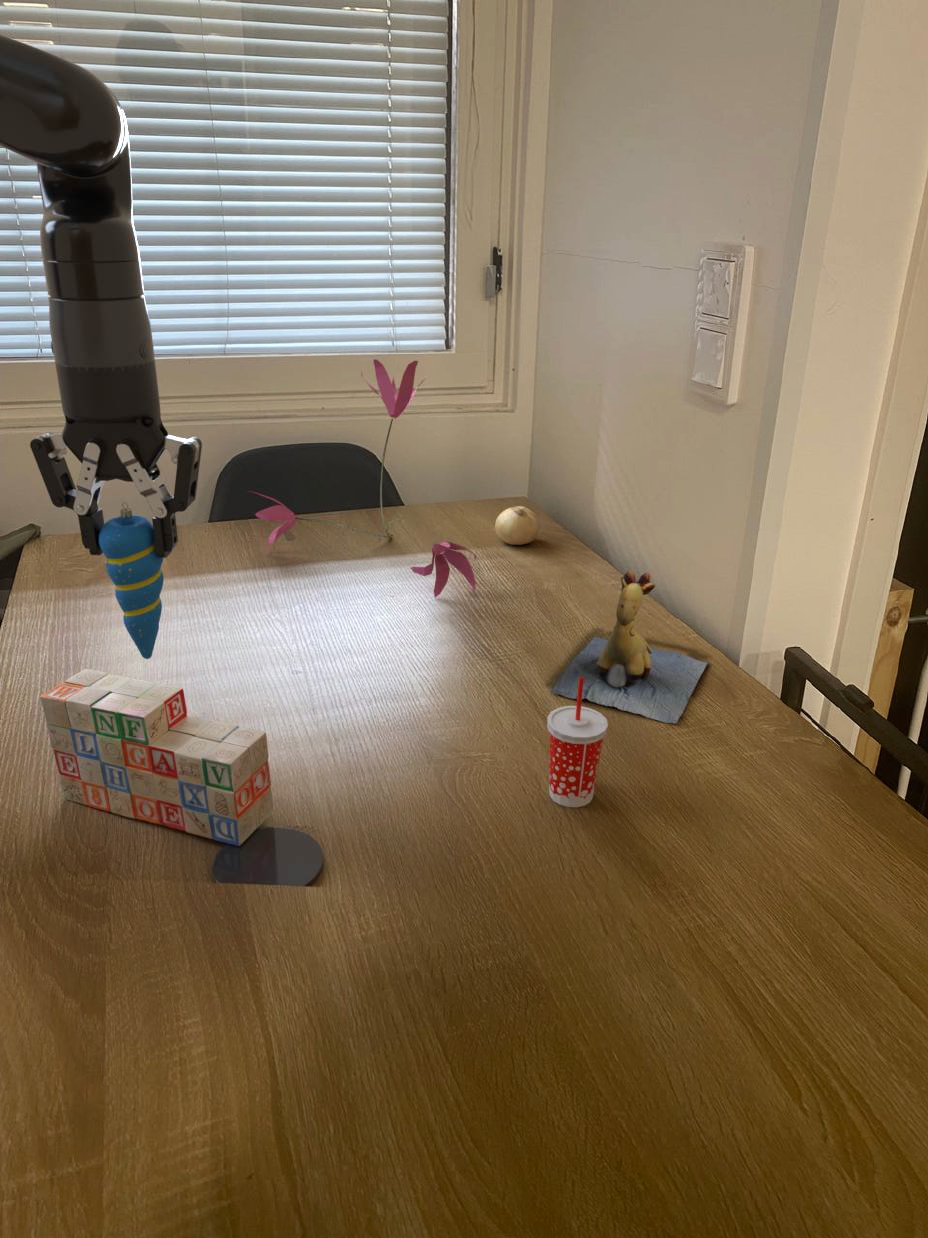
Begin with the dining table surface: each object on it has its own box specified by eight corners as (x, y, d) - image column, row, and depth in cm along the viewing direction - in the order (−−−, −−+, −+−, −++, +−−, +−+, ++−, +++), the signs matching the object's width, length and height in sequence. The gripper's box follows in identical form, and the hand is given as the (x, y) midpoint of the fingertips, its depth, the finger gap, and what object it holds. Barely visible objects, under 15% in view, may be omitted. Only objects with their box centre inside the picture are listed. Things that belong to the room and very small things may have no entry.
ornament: (141, 676, 81) (119, 516, 75) (104, 660, 84) (80, 504, 77) (186, 655, 85) (169, 501, 79) (150, 640, 88) (130, 490, 81)
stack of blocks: (276, 811, 91) (264, 703, 86) (240, 849, 85) (225, 736, 80) (104, 767, 98) (84, 665, 93) (61, 799, 92) (38, 693, 87)
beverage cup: (590, 775, 99) (601, 661, 93) (607, 809, 93) (621, 690, 87) (535, 779, 98) (543, 664, 92) (550, 814, 92) (559, 694, 86)
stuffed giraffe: (550, 692, 114) (565, 575, 108) (594, 640, 130) (610, 534, 123) (675, 728, 109) (699, 606, 102) (706, 669, 124) (729, 560, 117)
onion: (485, 540, 165) (486, 502, 162) (515, 531, 170) (517, 494, 166) (516, 552, 159) (518, 514, 156) (547, 542, 164) (550, 505, 161)
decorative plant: (344, 706, 155) (275, 646, 127) (270, 516, 172) (195, 427, 145) (542, 609, 154) (515, 528, 126) (448, 428, 171) (405, 322, 144)
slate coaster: (199, 902, 80) (198, 896, 80) (229, 829, 89) (228, 824, 89) (312, 906, 80) (312, 901, 79) (331, 833, 89) (331, 828, 88)
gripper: (207, 351, 76) (224, 541, 83) (37, 345, 76) (68, 536, 83) (179, 366, 69) (200, 572, 76) (-8, 359, 69) (31, 566, 77)
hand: (131, 552), depth 80 cm, fingers closed on ornament, 5 cm apart
